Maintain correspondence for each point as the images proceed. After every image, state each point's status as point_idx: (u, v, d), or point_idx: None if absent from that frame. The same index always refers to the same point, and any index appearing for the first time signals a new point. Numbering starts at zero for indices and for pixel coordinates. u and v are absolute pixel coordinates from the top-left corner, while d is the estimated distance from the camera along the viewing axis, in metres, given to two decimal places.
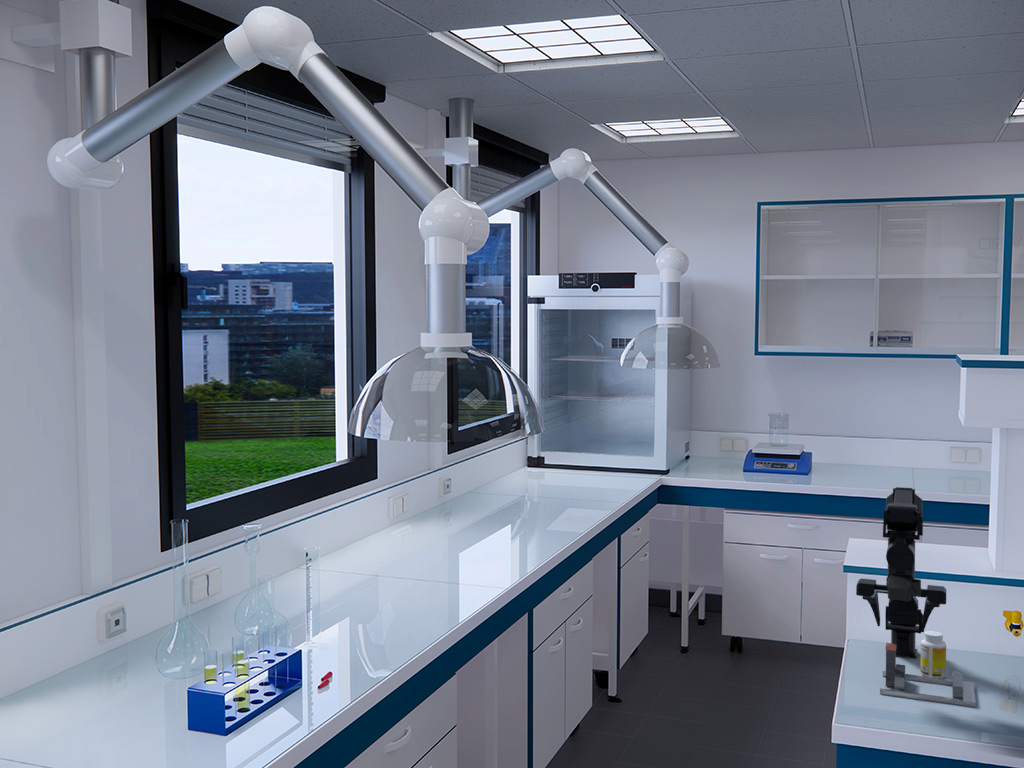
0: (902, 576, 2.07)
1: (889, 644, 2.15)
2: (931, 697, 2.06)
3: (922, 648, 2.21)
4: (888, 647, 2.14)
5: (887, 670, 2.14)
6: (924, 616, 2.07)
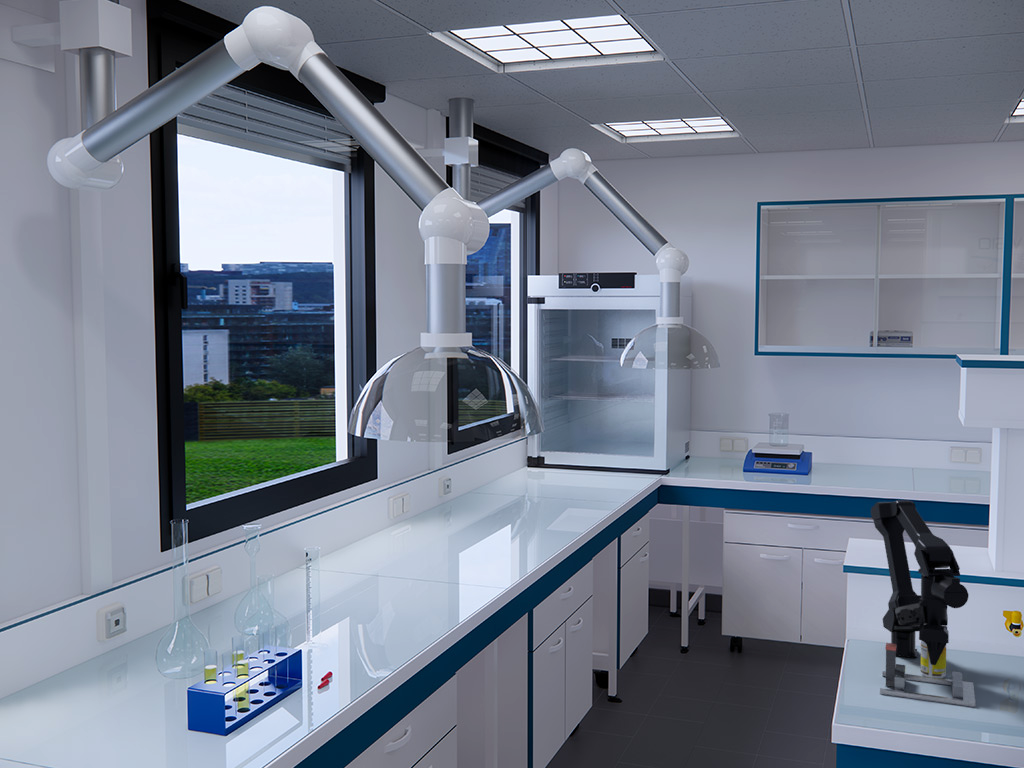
0: (915, 606, 2.22)
1: (889, 644, 2.15)
2: (931, 697, 2.06)
3: (922, 648, 2.21)
4: (888, 647, 2.14)
5: (887, 670, 2.14)
6: None
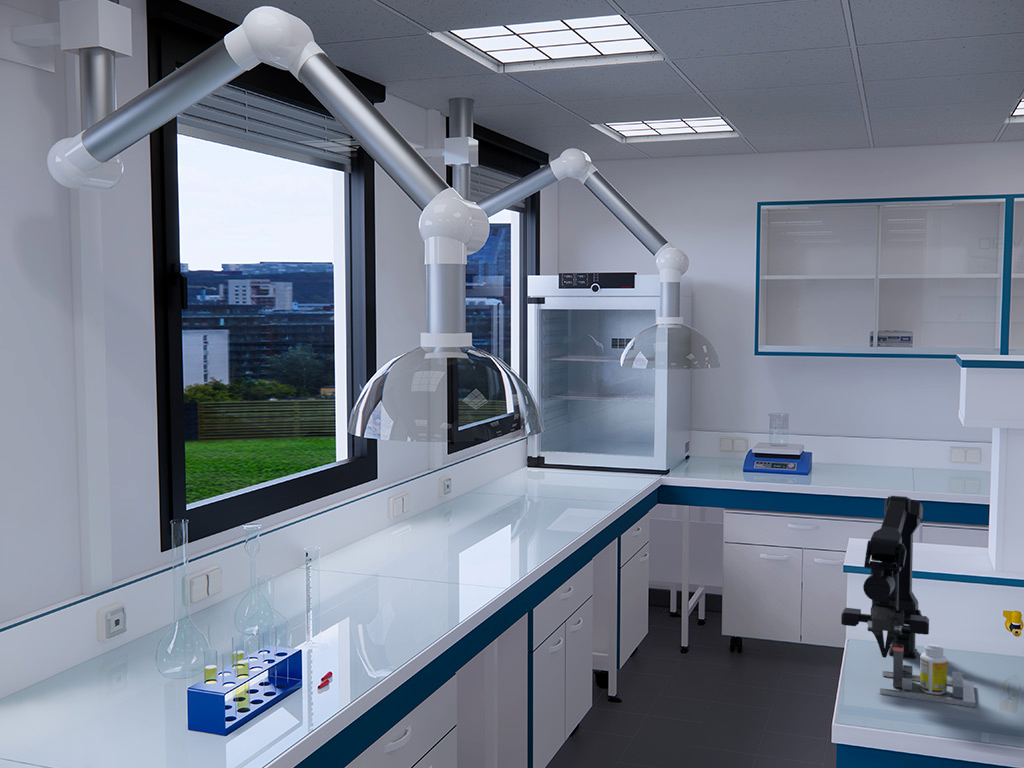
0: (886, 607, 2.11)
1: (897, 645, 2.15)
2: (931, 697, 2.06)
3: (922, 663, 2.11)
4: (895, 648, 2.13)
5: (894, 671, 2.14)
6: (886, 643, 2.14)
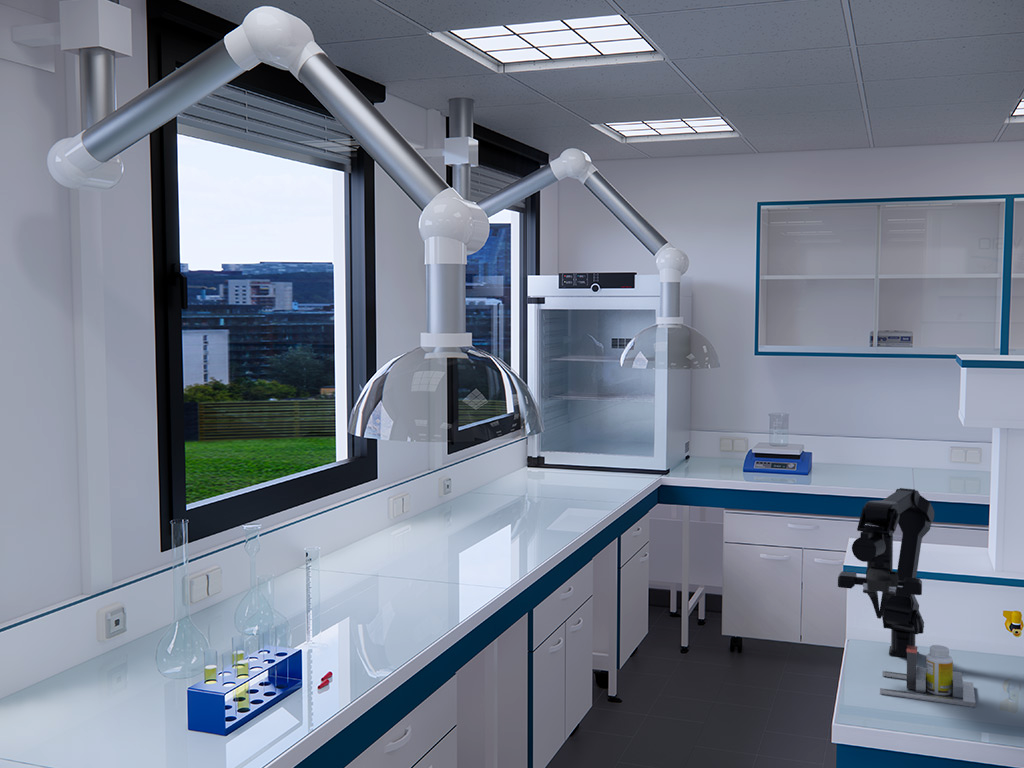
0: (880, 569, 2.20)
1: (910, 646, 2.13)
2: (931, 697, 2.06)
3: (927, 663, 2.10)
4: (909, 650, 2.12)
5: (908, 673, 2.12)
6: (881, 604, 2.23)
